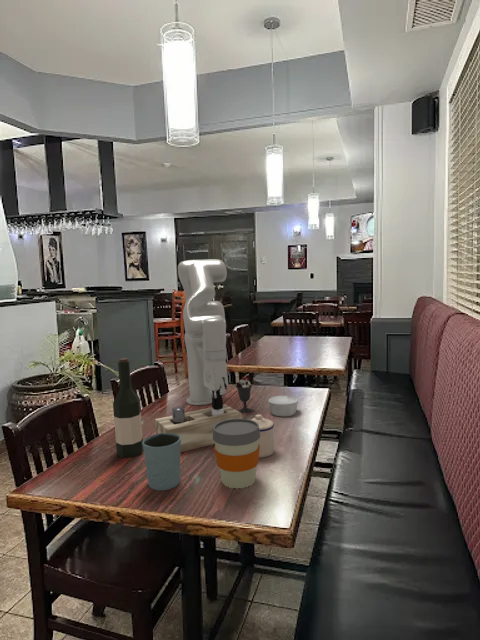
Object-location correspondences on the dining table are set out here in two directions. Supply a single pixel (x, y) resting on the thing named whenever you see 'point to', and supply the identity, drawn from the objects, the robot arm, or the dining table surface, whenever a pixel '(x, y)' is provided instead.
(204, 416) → the birch block
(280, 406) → the ramekin
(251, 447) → the reusable coffee cup
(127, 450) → the wine bottle
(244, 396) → the sundae
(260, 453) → the teacup with lid
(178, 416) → the graphite peg
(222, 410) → the steel peg
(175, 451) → the blue cup
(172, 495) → the dining table surface
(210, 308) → the robot arm
